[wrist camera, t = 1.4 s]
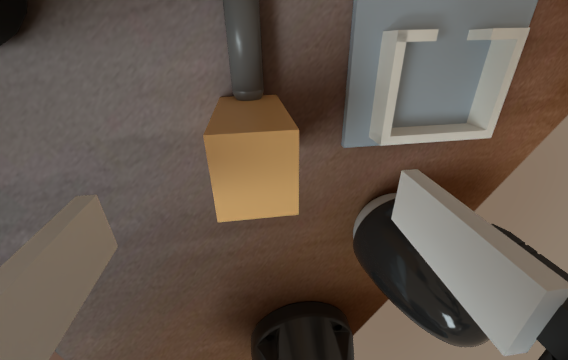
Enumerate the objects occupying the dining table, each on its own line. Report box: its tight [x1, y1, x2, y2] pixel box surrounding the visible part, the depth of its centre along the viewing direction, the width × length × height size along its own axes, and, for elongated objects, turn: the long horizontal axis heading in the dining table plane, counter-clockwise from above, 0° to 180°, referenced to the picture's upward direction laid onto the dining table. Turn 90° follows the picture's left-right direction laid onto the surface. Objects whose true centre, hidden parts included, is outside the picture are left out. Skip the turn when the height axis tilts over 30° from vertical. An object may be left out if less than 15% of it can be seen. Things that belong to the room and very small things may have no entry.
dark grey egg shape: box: [353, 193, 490, 347], centre depth 25 cm, size 10×10×15 cm
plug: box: [203, 0, 299, 222], centre depth 18 cm, size 16×5×11 cm, turn 1°
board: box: [341, 0, 538, 148], centre depth 22 cm, size 19×16×3 cm
